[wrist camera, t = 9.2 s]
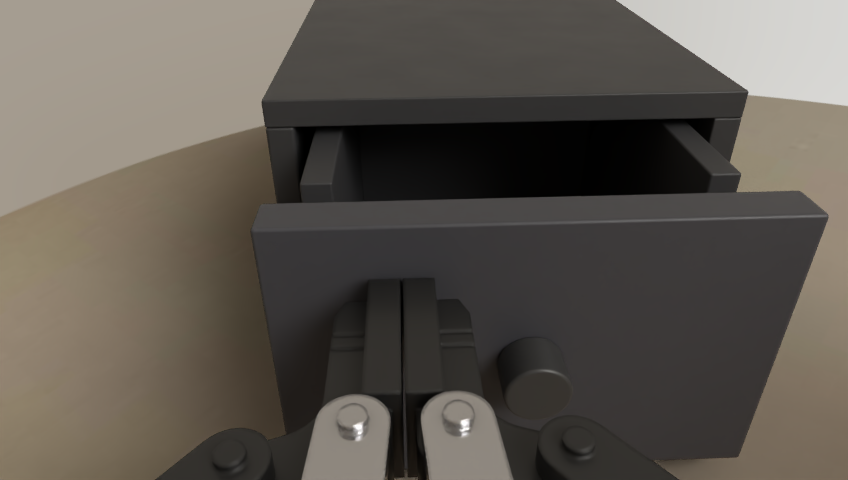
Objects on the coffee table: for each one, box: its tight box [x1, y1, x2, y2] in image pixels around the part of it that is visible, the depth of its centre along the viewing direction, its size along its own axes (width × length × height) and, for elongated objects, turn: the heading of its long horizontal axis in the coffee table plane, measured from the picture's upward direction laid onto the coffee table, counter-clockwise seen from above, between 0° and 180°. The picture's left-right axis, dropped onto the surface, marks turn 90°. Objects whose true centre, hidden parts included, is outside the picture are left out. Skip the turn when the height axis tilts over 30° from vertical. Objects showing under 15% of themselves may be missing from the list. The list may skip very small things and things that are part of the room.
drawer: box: [250, 119, 828, 469], centre depth 21 cm, size 15×12×8 cm
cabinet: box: [262, 0, 748, 204], centre depth 26 cm, size 15×14×10 cm
